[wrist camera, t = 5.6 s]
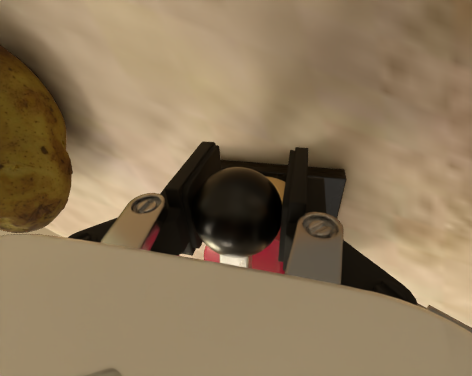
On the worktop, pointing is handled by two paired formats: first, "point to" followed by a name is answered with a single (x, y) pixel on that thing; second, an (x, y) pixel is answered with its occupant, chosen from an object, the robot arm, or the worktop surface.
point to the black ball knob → (237, 214)
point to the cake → (269, 255)
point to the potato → (30, 150)
